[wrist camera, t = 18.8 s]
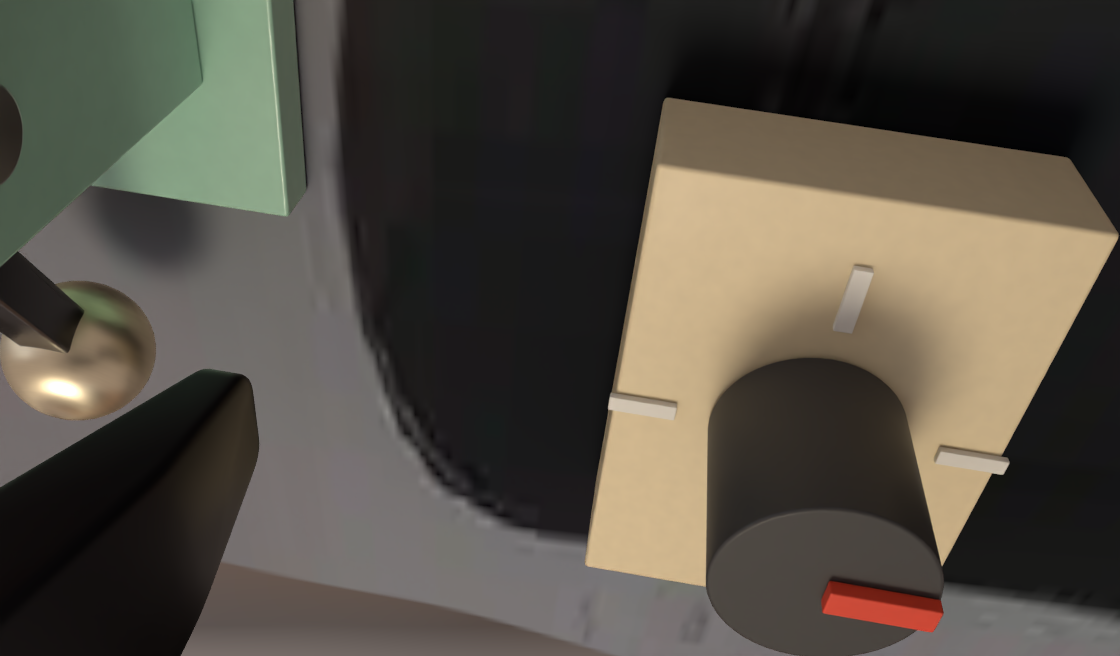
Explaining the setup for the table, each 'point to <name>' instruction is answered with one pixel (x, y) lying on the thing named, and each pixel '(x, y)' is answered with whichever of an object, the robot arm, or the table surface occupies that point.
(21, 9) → the lever bracket
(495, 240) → the table surface
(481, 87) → the table surface
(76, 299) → the toaster lever
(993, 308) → the dial panel
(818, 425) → the dial
